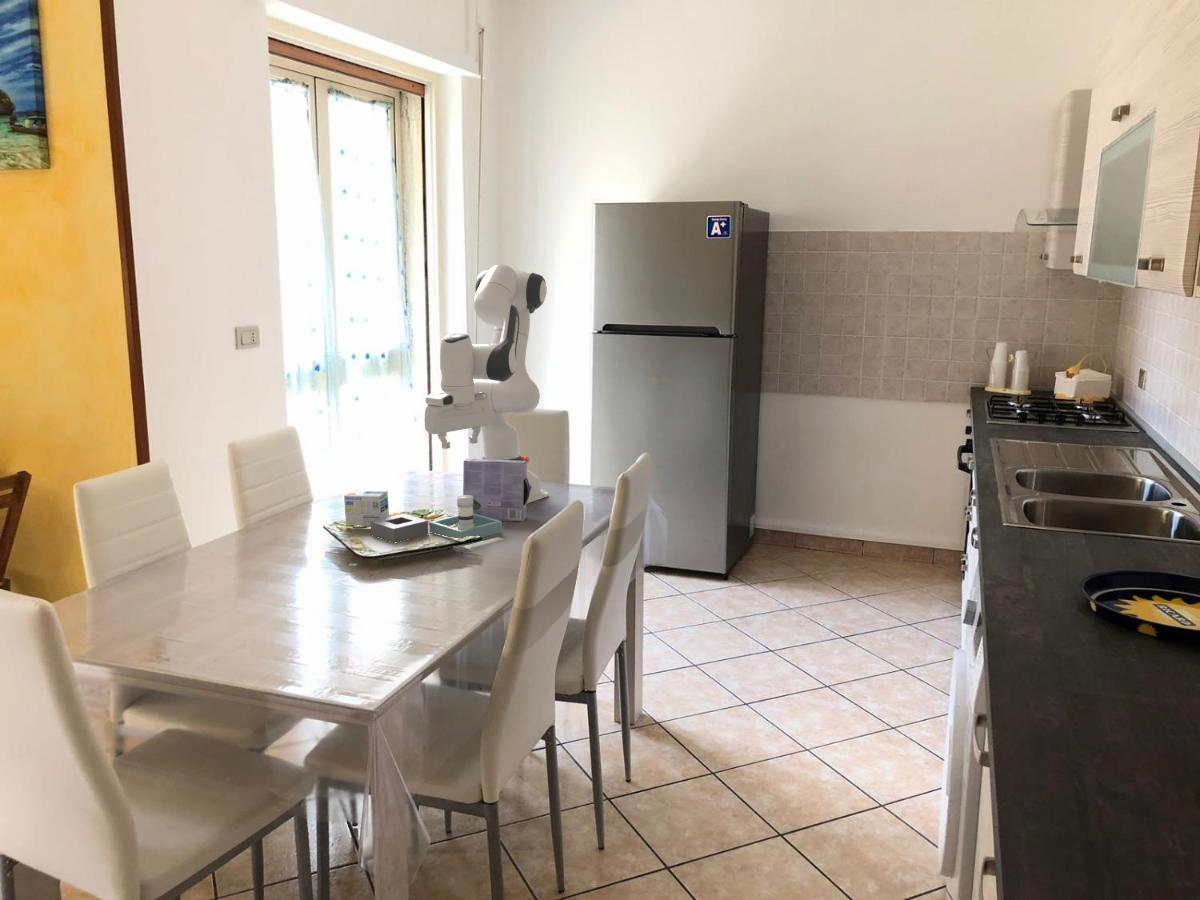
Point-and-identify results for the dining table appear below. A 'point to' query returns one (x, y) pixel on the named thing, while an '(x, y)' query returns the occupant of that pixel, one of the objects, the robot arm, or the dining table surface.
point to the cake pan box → (497, 488)
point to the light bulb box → (365, 507)
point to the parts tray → (481, 528)
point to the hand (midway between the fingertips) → (460, 445)
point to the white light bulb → (465, 512)
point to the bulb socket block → (399, 527)
